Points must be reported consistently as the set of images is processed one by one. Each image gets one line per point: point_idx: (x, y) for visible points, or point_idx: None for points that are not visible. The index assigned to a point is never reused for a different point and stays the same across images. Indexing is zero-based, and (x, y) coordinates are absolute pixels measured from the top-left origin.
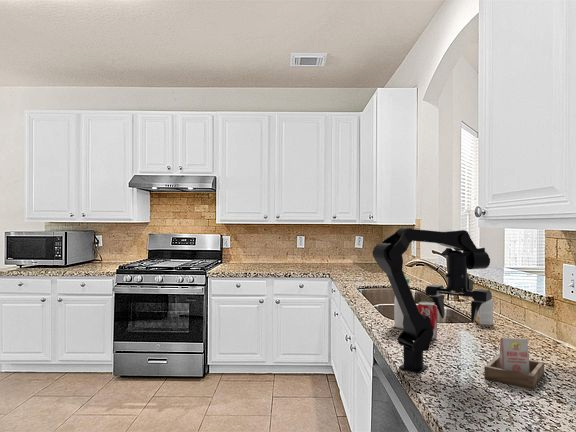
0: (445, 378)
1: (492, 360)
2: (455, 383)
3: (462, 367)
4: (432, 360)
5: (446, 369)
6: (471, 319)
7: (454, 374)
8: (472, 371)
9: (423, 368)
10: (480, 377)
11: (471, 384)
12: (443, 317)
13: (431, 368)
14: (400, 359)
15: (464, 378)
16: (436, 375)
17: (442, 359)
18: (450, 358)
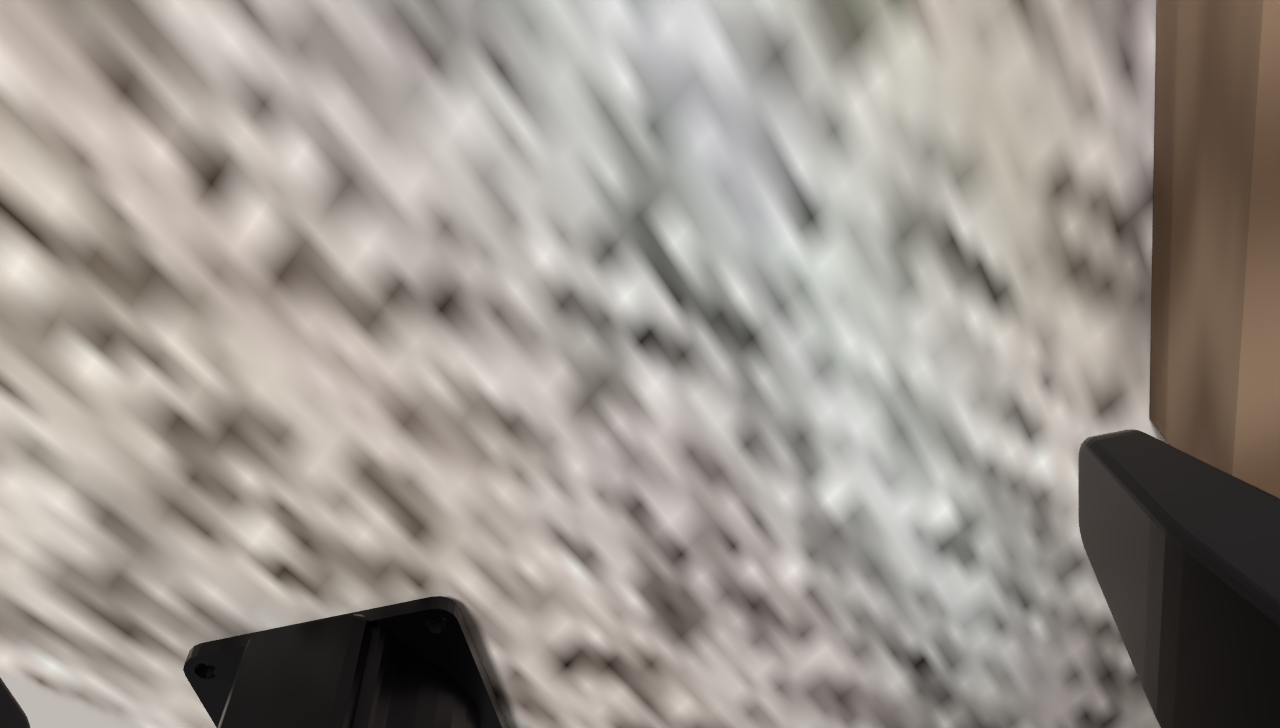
0: (795, 686)
1: (1267, 192)
2: (940, 713)
3: (738, 256)
4: (262, 331)
5: (636, 476)
6: (1148, 670)
7: (802, 537)
8: (920, 291)
9: (486, 704)
10: (1087, 400)
11: (1079, 630)
12: (4, 722)
13: (492, 575)
14: (4, 608)
15: (949, 554)
16: (678, 688)
17: (309, 174)
18: (346, 17)
